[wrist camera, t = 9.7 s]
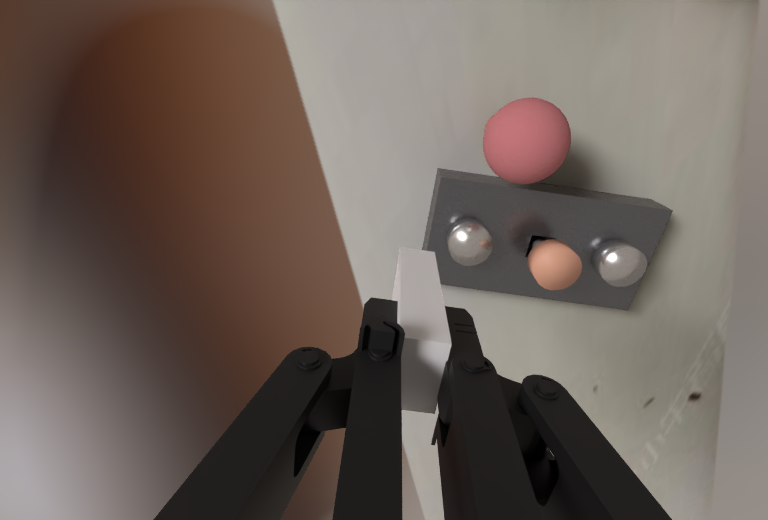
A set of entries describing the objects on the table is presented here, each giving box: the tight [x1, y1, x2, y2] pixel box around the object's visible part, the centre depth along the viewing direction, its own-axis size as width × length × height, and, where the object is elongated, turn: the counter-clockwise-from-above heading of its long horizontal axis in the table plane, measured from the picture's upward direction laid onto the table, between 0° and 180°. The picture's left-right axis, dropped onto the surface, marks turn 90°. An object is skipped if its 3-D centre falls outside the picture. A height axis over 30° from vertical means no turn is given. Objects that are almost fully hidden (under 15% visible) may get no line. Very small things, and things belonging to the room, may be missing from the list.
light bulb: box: [483, 98, 571, 184], centre depth 38 cm, size 7×7×12 cm
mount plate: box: [422, 168, 673, 310], centre depth 46 cm, size 12×24×4 cm, turn 82°
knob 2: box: [527, 239, 582, 290], centre depth 42 cm, size 4×4×6 cm
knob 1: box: [446, 218, 493, 266], centre depth 45 cm, size 4×4×6 cm
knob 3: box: [592, 239, 647, 287], centre depth 45 cm, size 4×4×6 cm
